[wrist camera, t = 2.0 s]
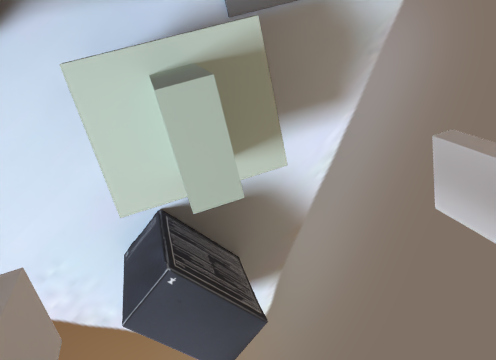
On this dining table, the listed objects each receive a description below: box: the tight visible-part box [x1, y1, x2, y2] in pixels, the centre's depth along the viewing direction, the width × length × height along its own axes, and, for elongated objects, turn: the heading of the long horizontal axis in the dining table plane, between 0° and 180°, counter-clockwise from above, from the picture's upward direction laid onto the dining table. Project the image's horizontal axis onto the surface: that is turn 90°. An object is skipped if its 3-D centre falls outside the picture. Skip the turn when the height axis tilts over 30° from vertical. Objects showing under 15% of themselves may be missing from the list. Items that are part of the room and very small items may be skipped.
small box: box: [122, 210, 268, 360], centre depth 37 cm, size 11×6×10 cm, turn 50°
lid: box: [60, 15, 287, 218], centre depth 25 cm, size 11×13×8 cm
